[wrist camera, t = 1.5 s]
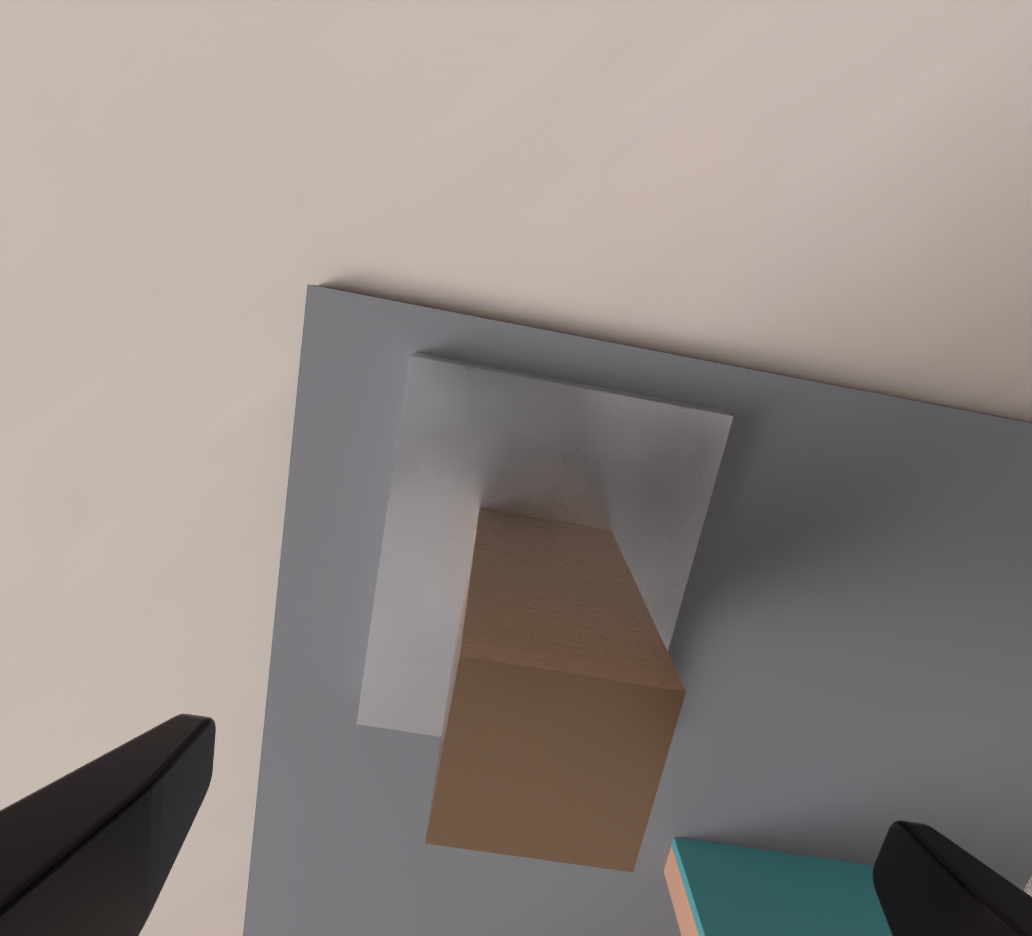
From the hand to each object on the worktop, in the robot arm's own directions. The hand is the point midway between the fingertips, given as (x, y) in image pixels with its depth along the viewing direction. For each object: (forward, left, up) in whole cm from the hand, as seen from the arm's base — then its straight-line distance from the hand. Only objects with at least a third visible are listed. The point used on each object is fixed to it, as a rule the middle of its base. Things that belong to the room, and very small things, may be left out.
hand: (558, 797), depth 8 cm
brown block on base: (0, 0, -7) cm, 7 cm away
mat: (-5, +4, -8) cm, 10 cm away
